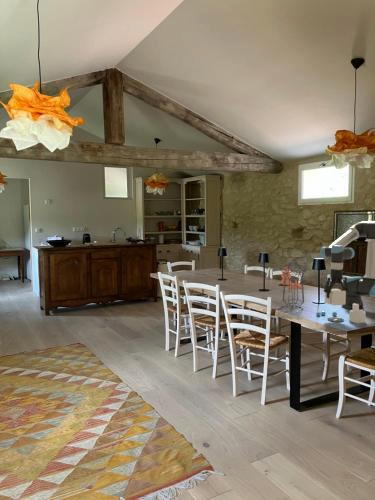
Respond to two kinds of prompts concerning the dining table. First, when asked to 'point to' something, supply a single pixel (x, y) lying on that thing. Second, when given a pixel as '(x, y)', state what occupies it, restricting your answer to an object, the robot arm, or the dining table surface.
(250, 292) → the dining table surface
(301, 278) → the geometric lantern
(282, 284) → the ceramic vessels
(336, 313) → the marble
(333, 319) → the coaster
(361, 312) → the medicine bottle
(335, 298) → the cream cube
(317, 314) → the marble
